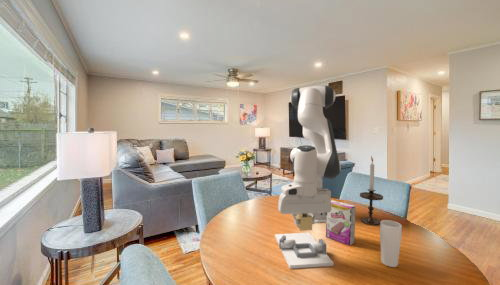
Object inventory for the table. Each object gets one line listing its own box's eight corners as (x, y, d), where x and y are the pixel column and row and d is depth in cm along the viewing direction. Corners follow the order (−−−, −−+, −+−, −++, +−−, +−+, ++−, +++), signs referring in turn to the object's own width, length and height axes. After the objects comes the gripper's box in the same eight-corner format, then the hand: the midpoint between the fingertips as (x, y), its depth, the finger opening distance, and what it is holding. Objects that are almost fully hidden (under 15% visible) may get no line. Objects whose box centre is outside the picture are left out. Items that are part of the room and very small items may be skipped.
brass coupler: (307, 225, 91) (308, 211, 91) (312, 230, 87) (312, 215, 86) (296, 225, 91) (297, 211, 90) (300, 230, 86) (300, 215, 86)
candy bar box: (325, 237, 104) (326, 201, 103) (330, 234, 108) (331, 199, 107) (350, 246, 96) (351, 208, 95) (355, 242, 100) (356, 205, 99)
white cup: (374, 258, 87) (376, 220, 86) (391, 257, 88) (393, 219, 87) (386, 269, 80) (388, 227, 80) (405, 268, 81) (406, 227, 80)
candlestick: (354, 219, 125) (356, 155, 123) (370, 217, 129) (372, 154, 127) (370, 227, 115) (372, 157, 113) (387, 224, 118) (389, 156, 116)
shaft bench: (308, 235, 106) (308, 224, 106) (333, 265, 83) (333, 252, 82) (272, 237, 105) (272, 226, 104) (287, 268, 81) (287, 255, 80)
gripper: (327, 186, 92) (326, 220, 93) (277, 186, 90) (276, 221, 91) (335, 190, 86) (333, 226, 87) (281, 190, 84) (280, 228, 84)
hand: (304, 223), depth 89 cm, fingers closed on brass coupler, 4 cm apart
